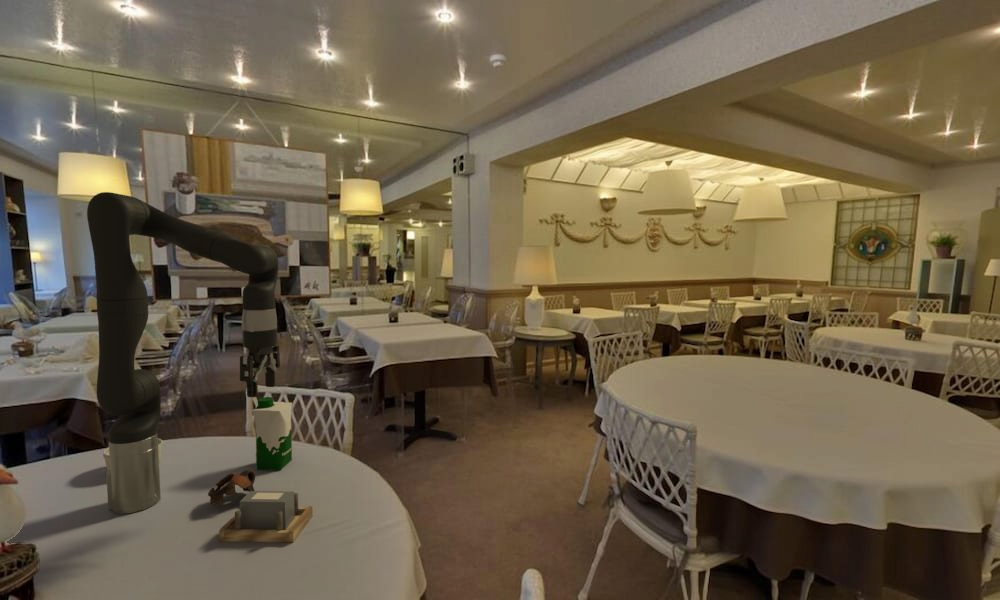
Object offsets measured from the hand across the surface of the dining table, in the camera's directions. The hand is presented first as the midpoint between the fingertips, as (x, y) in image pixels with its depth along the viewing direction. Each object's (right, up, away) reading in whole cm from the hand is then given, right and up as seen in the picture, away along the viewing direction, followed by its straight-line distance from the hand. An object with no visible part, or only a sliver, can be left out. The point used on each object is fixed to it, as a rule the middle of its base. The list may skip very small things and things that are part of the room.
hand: (261, 391), depth 111 cm
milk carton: (-8, -26, +21) cm, 35 cm away
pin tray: (+7, -29, -9) cm, 31 cm away
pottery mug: (-7, -28, +2) cm, 29 cm away
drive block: (+7, -28, -9) cm, 30 cm away
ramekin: (-46, -26, +17) cm, 55 cm away
